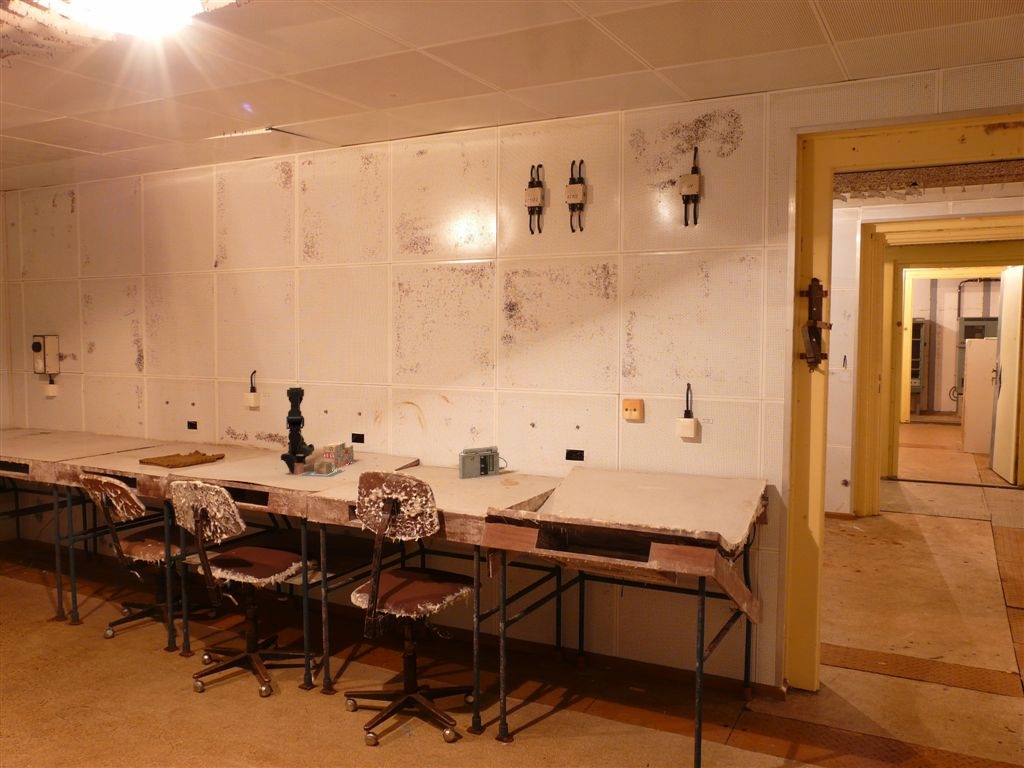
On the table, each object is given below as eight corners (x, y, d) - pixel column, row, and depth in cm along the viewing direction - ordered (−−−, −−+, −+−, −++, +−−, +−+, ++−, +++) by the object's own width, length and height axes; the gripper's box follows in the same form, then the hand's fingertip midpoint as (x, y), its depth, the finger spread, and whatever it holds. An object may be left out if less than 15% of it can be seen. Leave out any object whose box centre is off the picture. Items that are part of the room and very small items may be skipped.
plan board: (299, 476, 373) (299, 475, 373) (315, 470, 388) (315, 469, 388) (331, 478, 369) (331, 476, 369) (345, 471, 385) (345, 470, 385)
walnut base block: (314, 473, 377) (314, 463, 376) (320, 471, 382) (320, 461, 382) (326, 474, 375) (325, 464, 375) (331, 472, 381) (331, 461, 381)
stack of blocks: (342, 462, 410) (342, 438, 409) (353, 462, 409) (353, 439, 408) (323, 470, 389) (322, 445, 388) (335, 470, 388) (334, 446, 387)
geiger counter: (461, 449, 364) (510, 445, 375) (456, 447, 369) (504, 443, 381) (462, 479, 365) (510, 474, 376) (456, 477, 370) (504, 472, 382)
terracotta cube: (289, 475, 378) (288, 464, 378) (294, 473, 383) (293, 462, 382) (298, 475, 377) (298, 465, 376) (303, 473, 382) (303, 463, 381)
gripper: (301, 443, 368) (302, 476, 369) (319, 437, 386) (320, 468, 387) (279, 442, 370) (280, 475, 371) (299, 436, 388) (300, 468, 390)
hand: (296, 471), depth 380 cm, fingers open, 7 cm apart
